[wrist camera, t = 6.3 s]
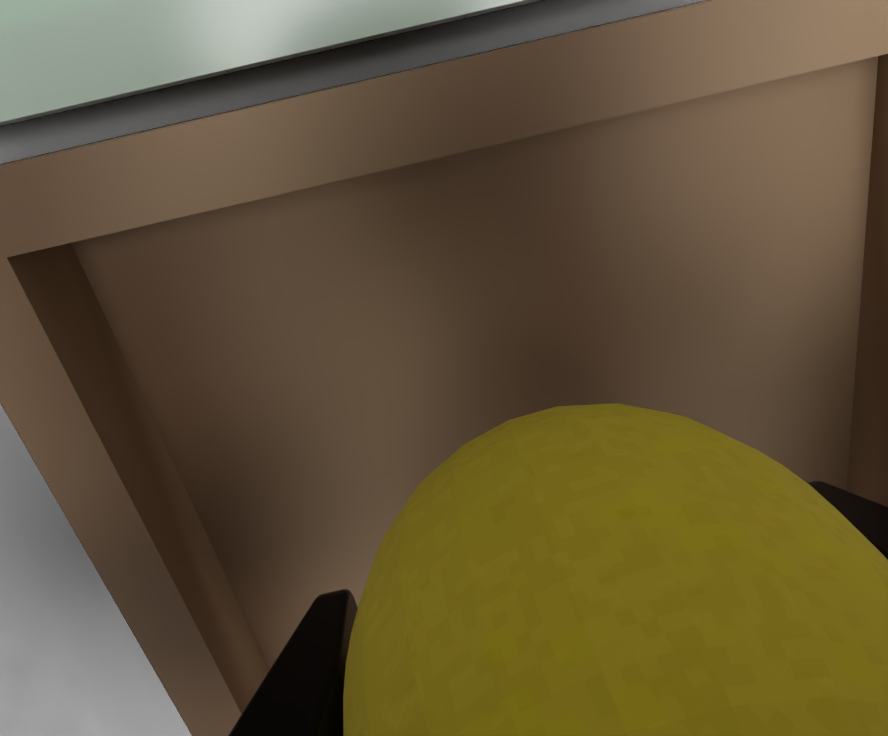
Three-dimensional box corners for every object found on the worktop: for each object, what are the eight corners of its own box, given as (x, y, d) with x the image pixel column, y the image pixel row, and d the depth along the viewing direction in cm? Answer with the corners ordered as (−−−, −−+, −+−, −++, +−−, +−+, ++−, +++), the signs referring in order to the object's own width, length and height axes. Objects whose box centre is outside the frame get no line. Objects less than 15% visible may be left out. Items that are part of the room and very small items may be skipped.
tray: (257, 693, 15) (235, 810, 13) (-2, 164, 10) (-120, 194, 7) (853, 558, 15) (942, 650, 13) (904, -46, 10) (1070, -83, 7)
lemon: (703, 580, 11) (1291, 1491, 4) (389, 636, 11) (413, 1694, 4) (717, 276, 9) (2181, 1160, 2) (318, 342, 9) (44, 1633, 2)
